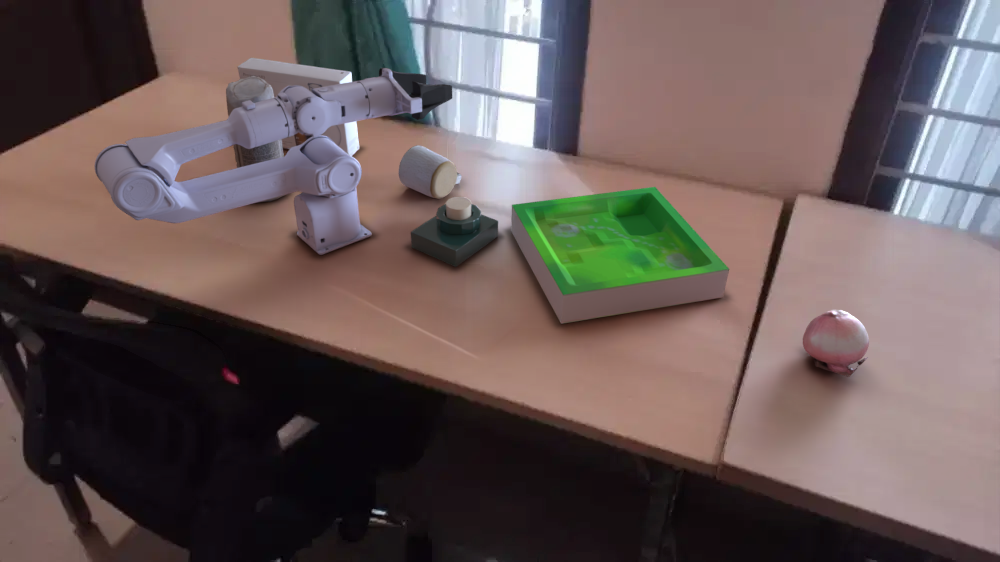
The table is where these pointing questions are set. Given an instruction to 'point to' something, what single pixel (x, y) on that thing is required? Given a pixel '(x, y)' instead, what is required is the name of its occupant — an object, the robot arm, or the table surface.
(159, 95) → the table surface
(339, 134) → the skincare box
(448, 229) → the dark green button base
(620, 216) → the tray
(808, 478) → the table surface
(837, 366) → the onion
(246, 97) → the spray can
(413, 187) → the ceramic mug
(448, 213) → the white push button
